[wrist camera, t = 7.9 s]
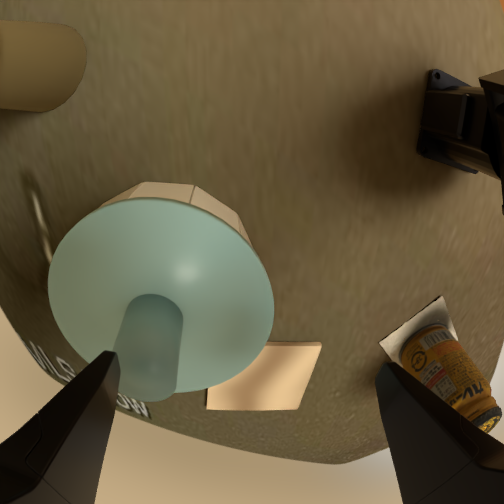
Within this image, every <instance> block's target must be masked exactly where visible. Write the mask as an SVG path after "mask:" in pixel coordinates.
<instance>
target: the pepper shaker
mask: <svg viewBox="0 0 504 504" xmlns="http://www.w3.org/2000/svg"><path fill="white" fill-rule="evenodd" d="M85 67H86V47H85V44H84V41H83V38H82V37H81V35H80V34H79V33H78V32H77V31H76V30H75V29H73V28H71V27H69V26H67V25H62V24H53V23H43V22H29V21H7V20H0V108H2V109H14V110H24V111H34V112H45V111H49V110H53V109H55V108H57V107H58V106H60V105H61V104H63V103H65V102H66V100H67V99H68V98H69V97H70V96H71V95H72V94H73V93H74V92H75V90H76V88H77V87H78V85H79V83H80V81H81V80H82V77H83V74H84V70H85Z"/></svg>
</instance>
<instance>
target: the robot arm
mask: <svg viewBox="0 0 504 504" xmlns="http://www.w3.org/2000/svg"><path fill="white" fill-rule="evenodd" d="M435 73H436V74H437V79H436V77H435ZM479 82H480V85H481V87H482V88H480V87H471V86H470V85H468V84H466V83H464V82H462V81H460V80H458V79H457V78H455V77H453V76H451V75H449V74H447V73H445V72H443V71H441V70H438V69H432V70H430V72H429V77H428V85H427V92H426V95H425V101H424V108H423V114H422V119H421V128H420V133H419V138H418V143H417V153H418V155H420V156H422V157H425V158H429V159H432V160H435V161H438V162H441V163H444V164H447V165H450V166H453V167H456V168H459V169H462V170H465V171H468V172H471V173H473V174H476V173H478V171H480V172H482V173H484V174H487V175H489V176H491V177H494V178H496V179H498V180H500V181H501V185H502V196H503V205H502V213H503V215H504V70H501V71H498V72H495V73H491V74H488V75H485V76H482V77H479ZM423 147H425V151H424V152H423V151H422V149H423ZM120 375H121V369H120V364H119V359H118V355H117V353H116V352H115V351H109V350H104V351H103V352H102V353H101V354H99V355H98V356H97V357H96V358H95V359H94V360H93V361H92V362H91V363H90V364H89V365H87V366H86V367H85V368H84V369H83V370H82V371H81V372H80V373H79V374H78V375H77V376H76V377H75V378H73V379H72V380H71V381H70V382H69V383H68V384H67V385H66V386H65V387H64V388H63V389H62V390H61V391H60V392H58V393H57V394H56V395H55V396H54V397H53V398H52V399H51V400H50V401H49V402H48V403H47V404H46V405H45V406H44V407H43V408H42V409H41V410H39V411H38V413H36V414H35V415H34V416H33V417H32V418H31V419H30V420H29V421H28V422H27V423H25V424H24V425H23V426H22V427H21V428H20V429H19V430H18V431H16V432H15V433H14V434H13V435H11V436H10V437H9V438H7V439H6V440H5V441H3V442H2V443H1V444H0V504H94V502H95V497H96V492H97V487H98V482H99V478H100V473H101V468H102V464H103V460H104V455H105V451H106V447H107V443H108V438H109V434H110V431H111V427H112V423H113V418H114V414H115V408H116V401H117V394H118V387H119V381H120ZM375 386H376V392H377V397H378V403H379V409H380V414H381V419H382V423H383V426H384V430H385V433H386V437H387V441H388V444H389V448H390V452H391V456H392V460H393V464H394V467H395V471H396V476H397V480H398V484H399V488H400V493H401V497H402V501H403V504H504V444H503V443H501V442H499V441H498V440H496V439H495V438H493V437H492V436H490V435H489V434H487V433H486V432H484V431H483V430H481V429H480V428H478V427H477V426H476V425H474V424H473V423H472V422H470V421H469V420H468V419H467V418H465V417H464V416H463V415H460V413H459V412H458V411H456V410H455V409H454V408H453V407H451V406H450V405H449V404H448V403H446V402H445V401H444V400H443V399H441V398H440V397H439V396H438V395H436V394H435V393H434V392H433V391H431V390H430V389H429V388H428V387H426V386H425V385H424V384H423V383H421V382H420V381H419V380H418V379H416V378H415V377H414V376H413V375H411V374H410V373H409V372H407V371H406V370H405V369H404V368H402V367H401V366H400V365H399V364H397V363H396V362H394V361H391V362H384V363H383V364H382V366H381V368H380V370H379V372H378V373H377V375H376V378H375Z"/></svg>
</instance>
